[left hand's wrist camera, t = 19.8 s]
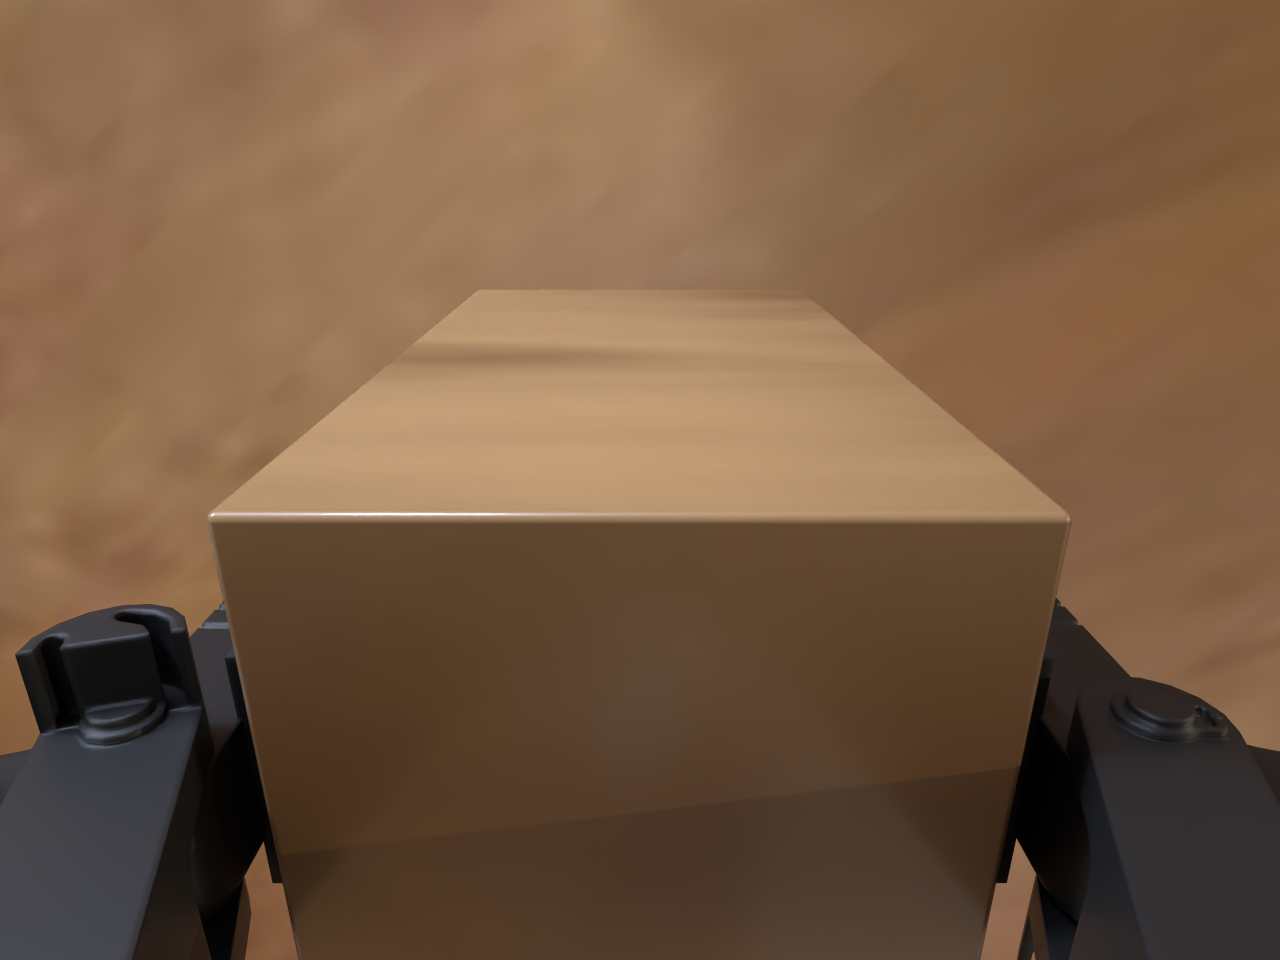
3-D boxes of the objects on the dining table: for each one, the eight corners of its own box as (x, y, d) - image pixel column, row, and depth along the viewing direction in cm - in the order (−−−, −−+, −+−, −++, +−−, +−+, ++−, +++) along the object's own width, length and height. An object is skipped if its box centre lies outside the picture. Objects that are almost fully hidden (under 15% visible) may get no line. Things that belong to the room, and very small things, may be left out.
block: (781, 601, 18) (948, 1129, 8) (498, 601, 18) (329, 1128, 8) (803, 289, 15) (1078, 513, 6) (475, 289, 15) (198, 513, 6)
